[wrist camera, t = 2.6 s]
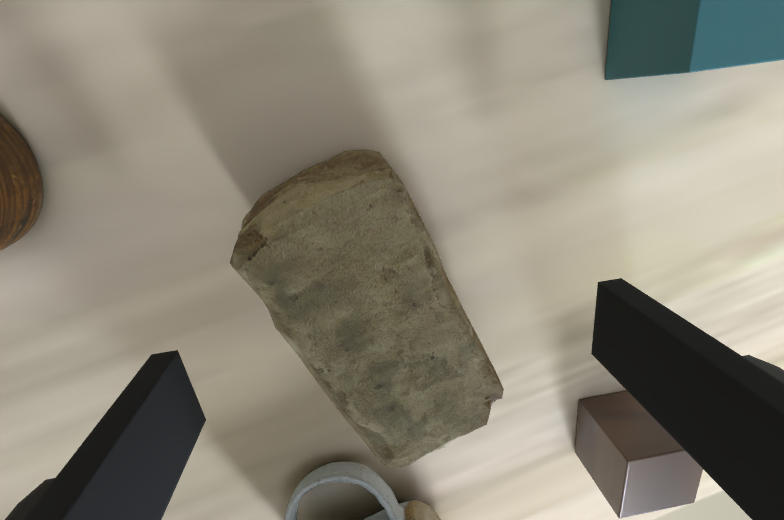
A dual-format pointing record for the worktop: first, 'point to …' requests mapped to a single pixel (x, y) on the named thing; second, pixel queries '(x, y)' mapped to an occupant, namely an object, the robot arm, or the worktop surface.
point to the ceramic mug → (406, 516)
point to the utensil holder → (17, 186)
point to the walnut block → (633, 456)
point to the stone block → (368, 305)
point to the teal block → (691, 35)
